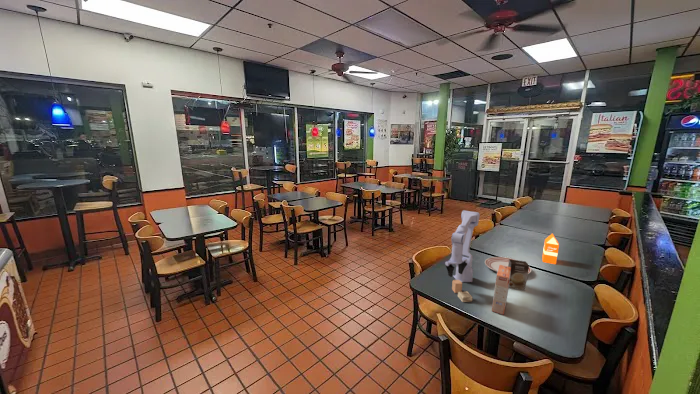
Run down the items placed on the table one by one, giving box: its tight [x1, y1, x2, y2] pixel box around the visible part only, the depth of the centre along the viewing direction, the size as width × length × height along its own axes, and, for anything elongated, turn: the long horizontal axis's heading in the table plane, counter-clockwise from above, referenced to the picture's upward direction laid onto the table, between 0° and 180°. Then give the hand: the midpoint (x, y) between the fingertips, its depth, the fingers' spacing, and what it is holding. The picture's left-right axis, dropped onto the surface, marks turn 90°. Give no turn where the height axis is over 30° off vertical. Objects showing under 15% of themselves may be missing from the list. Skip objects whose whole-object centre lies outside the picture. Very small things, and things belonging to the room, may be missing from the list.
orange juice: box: [541, 233, 560, 265], centre depth 192 cm, size 8×9×20 cm
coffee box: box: [508, 258, 530, 291], centre depth 158 cm, size 9×6×16 cm
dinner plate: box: [484, 256, 532, 275], centre depth 182 cm, size 28×27×3 cm
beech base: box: [457, 291, 473, 303], centre depth 148 cm, size 6×6×3 cm
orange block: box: [451, 279, 463, 294], centre depth 156 cm, size 4×4×6 cm
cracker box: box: [491, 265, 511, 316], centre depth 139 cm, size 14×6×21 cm, turn 146°
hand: (455, 274), depth 155 cm, fingers open, 7 cm apart
